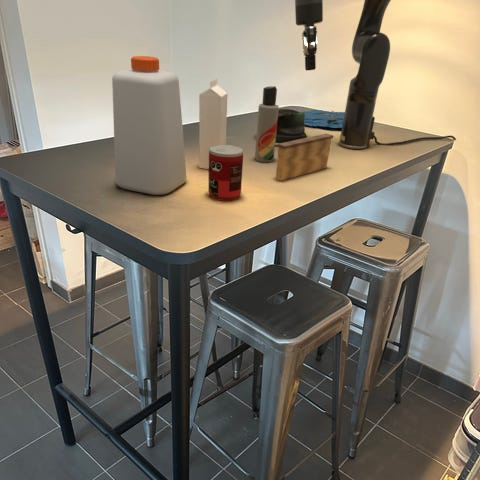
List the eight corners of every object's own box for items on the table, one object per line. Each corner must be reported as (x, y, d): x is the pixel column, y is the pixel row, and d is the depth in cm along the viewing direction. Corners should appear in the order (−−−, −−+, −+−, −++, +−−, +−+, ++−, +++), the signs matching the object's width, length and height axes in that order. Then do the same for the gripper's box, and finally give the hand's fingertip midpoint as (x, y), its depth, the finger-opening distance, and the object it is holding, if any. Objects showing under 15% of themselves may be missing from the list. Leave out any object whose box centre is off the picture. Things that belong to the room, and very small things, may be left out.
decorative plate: (311, 136, 169) (313, 121, 166) (277, 116, 192) (278, 102, 188) (378, 129, 178) (381, 115, 175) (338, 111, 200) (340, 98, 197)
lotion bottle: (272, 163, 136) (279, 88, 124) (253, 161, 136) (258, 86, 125) (274, 158, 140) (281, 85, 129) (256, 155, 141) (262, 83, 129)
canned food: (207, 189, 115) (208, 144, 109) (239, 190, 116) (241, 145, 110) (208, 200, 109) (209, 153, 103) (242, 201, 110) (244, 154, 103)
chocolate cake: (279, 126, 170) (326, 138, 161) (250, 159, 165) (296, 174, 156) (272, 89, 158) (322, 100, 148) (240, 123, 152) (290, 138, 143)
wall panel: (321, 165, 136) (326, 133, 131) (328, 168, 135) (333, 135, 130) (273, 178, 125) (277, 143, 119) (280, 181, 123) (284, 146, 118)
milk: (199, 168, 129) (198, 80, 116) (205, 162, 133) (205, 77, 120) (219, 170, 127) (221, 82, 115) (225, 164, 132) (228, 79, 119)
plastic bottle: (109, 187, 112) (94, 57, 96) (141, 170, 124) (133, 51, 107) (164, 199, 108) (158, 64, 92) (192, 180, 120) (191, 58, 104)
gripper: (325, -2, 120) (326, 68, 128) (319, 5, 133) (320, 68, 140) (296, 2, 121) (299, 71, 128) (293, 8, 133) (295, 71, 141)
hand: (310, 70), depth 134 cm, fingers open, 8 cm apart
